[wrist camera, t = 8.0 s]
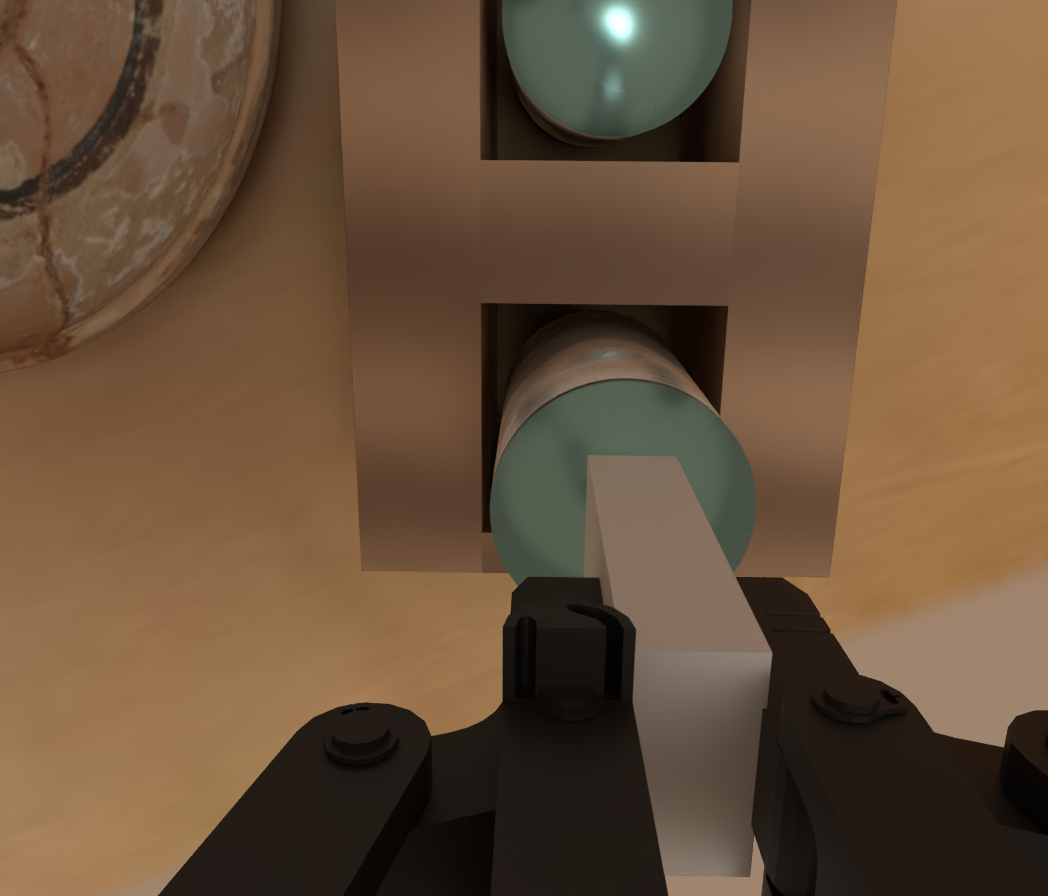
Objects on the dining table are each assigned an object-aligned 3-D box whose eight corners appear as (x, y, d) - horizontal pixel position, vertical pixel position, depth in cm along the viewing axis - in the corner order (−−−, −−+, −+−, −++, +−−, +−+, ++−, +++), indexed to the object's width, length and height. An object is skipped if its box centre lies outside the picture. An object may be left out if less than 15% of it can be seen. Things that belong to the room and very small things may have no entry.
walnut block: (392, -81, 27) (325, -199, 18) (797, -78, 27) (920, -196, 18) (408, 463, 32) (361, 570, 23) (750, 467, 32) (829, 577, 23)
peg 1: (512, -29, 26) (502, -118, 18) (678, -27, 26) (741, -115, 18) (511, 146, 28) (501, 136, 20) (669, 147, 28) (723, 137, 20)
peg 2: (505, 309, 24) (489, 380, 16) (688, 311, 24) (767, 383, 16) (504, 481, 25) (490, 629, 17) (677, 484, 25) (745, 632, 17)
